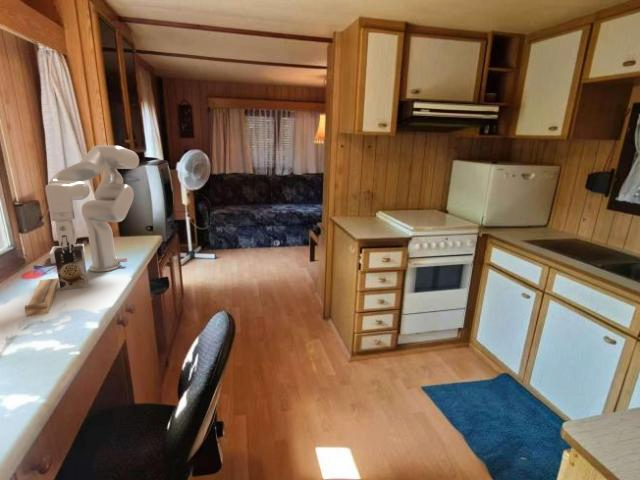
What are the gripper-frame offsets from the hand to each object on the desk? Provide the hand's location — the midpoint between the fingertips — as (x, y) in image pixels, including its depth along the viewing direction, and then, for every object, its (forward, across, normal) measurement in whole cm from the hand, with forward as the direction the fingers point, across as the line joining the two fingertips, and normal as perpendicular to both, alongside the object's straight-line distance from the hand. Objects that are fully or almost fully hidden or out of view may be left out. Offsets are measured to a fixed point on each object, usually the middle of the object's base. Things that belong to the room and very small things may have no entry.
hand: (70, 259), depth 142 cm
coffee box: (+12, 0, 0) cm, 12 cm away
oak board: (+12, -8, +9) cm, 17 cm away
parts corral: (+12, +41, +6) cm, 43 cm away
